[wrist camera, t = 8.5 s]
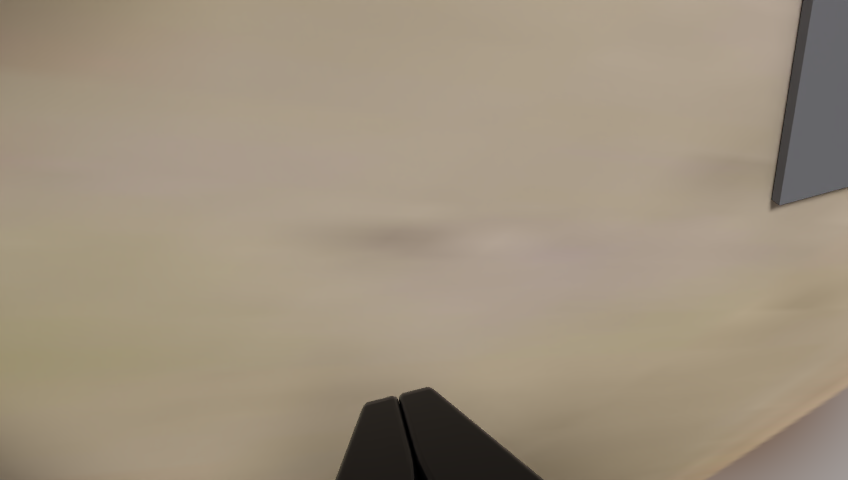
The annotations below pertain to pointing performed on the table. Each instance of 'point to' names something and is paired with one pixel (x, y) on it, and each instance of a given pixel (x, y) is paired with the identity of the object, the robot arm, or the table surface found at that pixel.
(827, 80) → the mat
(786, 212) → the table surface
